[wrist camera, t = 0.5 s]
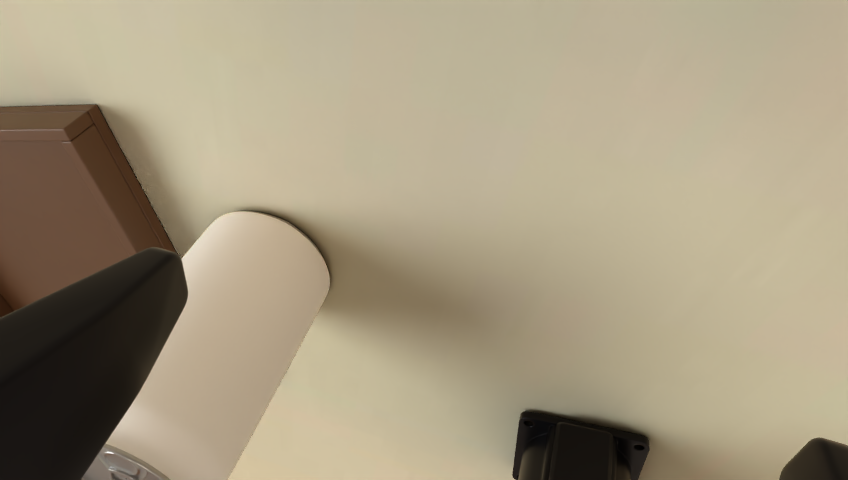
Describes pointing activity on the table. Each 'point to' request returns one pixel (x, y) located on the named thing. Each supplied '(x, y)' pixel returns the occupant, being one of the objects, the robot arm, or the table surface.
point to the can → (220, 352)
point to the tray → (65, 202)
